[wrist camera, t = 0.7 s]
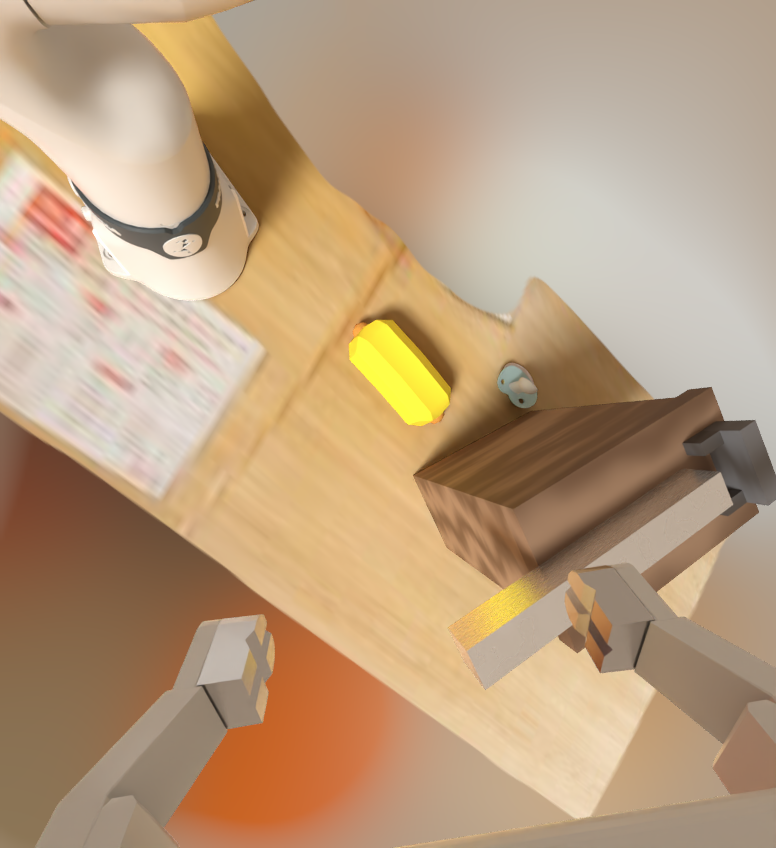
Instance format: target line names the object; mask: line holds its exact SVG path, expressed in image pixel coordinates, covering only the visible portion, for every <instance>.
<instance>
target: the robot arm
mask: <svg viewBox="0 0 776 848" xmlns="http://www.w3.org/2000/svg"><path fill="white" fill-rule="evenodd" d="M251 1H254V0H0V119H1V120H2V121H4V122H6V123H7V124H9V125H10V126H12V127H14V128H15V129H17V130H18V131H19V132H21V133H22V134H24V135H25V136H27V137H28V138H29V139H30V140H31V141H33V142H34V143H35V144H36V145H37V146H38V147H39V148H40V149H41V150H42V151H43V152H44V153H45V154H46V155H47V156H48V157H49V158H50V159H51V160H52V161H53V162H54V163H55V164H56V165H57V166H58V167H59V168H60V169H61V170H62V171H63V172H64V173H65V174H66V175H67V177H68V180H69V183H70V185H71V187H72V189H73V191H74V192H75V194H76V195H77V196H78V197H80V198H81V199H82V201H83V202H84V203H85V206H83V207H81V210H82V213H83V215H84V217H85V218H86V220H87V221H91V222H92V225H93V233H94V235H95V237H96V239H97V243H98V247H99V250H100V254H101V257H102V261H103V264H104V266H105V268H106V269H107V270H108V272H109V273H111V274H112V275H114V276H117V277H120V278H124V279H129V280H134V281H137V282H140V283H142V284H143V285H145V286H147V287H148V288H150V289H152V290H153V291H155V292H157V293H159V294H161V295H164V296H166V297H170V298H173V299H178V300H188V301H193V300H202V299H207V298H210V297H213V296H216V295H218V294H220V293H222V292H223V291H225V290H226V289H228V288H229V287H230V286H231V285H232V284H233V283H234V282H235V281H236V280H237V278H238V277H239V275H240V274H241V272H242V270H243V267H244V265H245V261H246V255H247V249H248V245H249V243H250V242H251V240H252V239H253V238H254V236H255V235H256V233H257V231H258V228H259V224H258V221H257V218H256V217H255V215H254V214H253V212H252V211H251V210H250V208H249V207H248V205H247V204H246V203H245V201H244V200H243V199H242V197H241V196H240V194H239V193H238V192H237V190H236V189H235V187H234V186H233V185H232V183H231V182H230V181H229V179H228V178H227V176H226V175H225V174H224V172H223V171H222V169H221V168H220V167H219V165H218V164H217V162H216V161H215V160H214V158H213V157H212V156H211V154H210V153H209V151H208V149H207V148H206V146H205V144H204V143H203V141H202V140H201V136H200V133H199V130H198V126H197V123H196V120H195V117H194V113H193V110H192V107H191V103H190V100H189V97H188V94H187V91H186V89H185V87H184V85H183V83H182V81H181V79H180V78H179V76H178V74H177V73H176V71H175V70H174V69H173V67H172V66H171V64H170V63H169V62H168V61H167V59H166V58H165V57H164V56H163V55H162V53H161V52H160V51H159V50H158V49H157V48H156V47H155V46H154V44H153V43H152V42H151V41H150V40H149V39H148V38H147V37H146V36H145V35H144V34H142V33H141V32H140V31H139V30H138V29H137V28H136V27H134V26H133V25H132V24H137V23H181V22H189V21H193V20H196V19H199V18H203V17H206V16H210V15H213V14H216V13H219V12H223V11H226V10H229V9H232V8H234V7H237V6H240V5H243V4H245V3H248V2H251ZM243 214H245V215H246V216H245V217H244V216H243ZM111 256H112V257H111ZM567 581H568V582H569V584H570V585H571V587H570V588H569V589H568V590H567V591H566V592H565V606H566V611H567V614H568V616H569V619H570V621H571V623H572V625H573V627H574V628H575V630H576V631H578V632H579V633H581V634H582V635H583V636H585V637H586V641H585V648H586V650H587V651H588V653H589V655H590V657H591V658H592V660H593V662H594V664H595V665H596V667H597V669H598V670H599V672H600V673H606V672H615V671H624V670H632V669H635V672H636V673H637V674H638V675H639V676H641V677H642V678H643V679H644V680H646V681H647V682H648V683H649V684H650V685H652V686H653V687H654V688H655V689H656V690H658V691H659V692H660V693H661V694H663V695H664V696H665V697H666V698H668V699H669V700H670V701H671V702H672V703H674V704H675V705H676V706H677V707H678V708H680V709H681V710H682V711H683V712H684V713H686V714H687V715H688V716H690V718H692V719H693V720H694V721H695V722H697V723H698V724H699V725H700V726H702V727H703V728H704V729H705V730H706V731H708V732H709V733H710V734H711V735H712V736H714V737H715V738H716V739H717V740H718V741H720V742H721V743H722V744H723V746H722V747H721V749H720V751H719V752H718V754H717V756H716V757H715V759H714V762H713V770H714V771H715V772H716V774H717V776H718V777H719V779H720V780H721V782H722V783H723V785H724V786H725V787H726V789H727V791H728V792H729V794H730V795H727V796H720V797H714V798H707V799H700V800H695V801H688V802H681V803H675V804H669V805H663V806H656V807H649V808H643V809H637V810H630V811H625V812H618V813H611V814H605V815H599V816H592V817H586V818H579V819H573V820H567V821H560V822H554V823H548V824H541V825H535V826H529V827H522V828H515V829H509V830H503V831H496V832H490V833H484V834H477V835H471V836H465V837H458V838H452V839H445V840H439V841H433V842H427V843H420V844H414V845H407V846H401V847H395V848H776V668H775V667H773V666H772V665H770V664H768V663H766V662H765V661H762V660H761V659H759V658H757V657H756V656H754V655H752V654H750V653H748V652H747V651H745V650H743V649H741V648H739V647H737V646H736V645H734V644H732V643H730V642H728V641H727V640H725V639H723V638H721V637H720V636H718V635H716V634H714V633H713V632H711V631H709V630H707V629H705V628H704V627H701V626H700V625H698V624H696V623H695V622H693V621H691V620H689V619H687V618H686V617H677V615H676V614H675V613H674V612H673V611H672V610H671V609H670V607H669V606H668V605H667V604H666V603H665V602H664V600H663V599H662V598H661V597H660V596H659V595H658V594H657V592H656V591H655V590H654V589H653V588H652V587H651V586H650V584H649V583H648V582H647V581H646V580H645V579H644V577H643V576H642V575H641V574H640V573H639V572H638V571H637V569H636V568H635V567H634V566H633V565H631V564H630V563H620V564H614V565H608V566H607V565H603V566H597V567H590V568H584V569H578V570H571V572H570V573H569V574H568V580H567ZM266 625H267V621H266V619H265V617H264V615H263V614H262V615H254V616H244V617H235V618H226V619H219V620H211V621H203V622H202V623H201V625H200V626H199V627H198V629H197V631H196V634H195V636H194V638H193V641H192V643H191V646H190V648H189V651H188V653H187V655H186V658H185V660H184V663H183V665H182V668H181V670H180V672H179V675H178V677H177V680H176V682H175V685H174V687H173V689H172V690H170V691H166V692H165V693H164V694H163V695H162V696H161V697H160V698H159V699H158V700H157V701H156V702H155V703H154V704H153V705H152V706H151V707H150V708H149V710H148V711H147V712H146V713H145V714H144V715H143V716H142V717H141V718H140V719H139V720H138V721H137V722H136V723H135V724H134V725H133V726H132V727H131V728H130V729H129V730H128V731H127V732H126V734H124V735H123V737H122V738H121V739H120V740H119V741H118V742H117V743H116V744H115V745H114V746H113V747H112V748H111V749H110V750H109V751H108V752H107V753H106V754H105V755H104V756H103V757H102V758H101V760H100V761H99V762H98V763H97V764H96V765H95V766H94V767H93V768H92V769H91V770H90V771H89V772H88V773H87V774H86V775H85V776H84V777H83V778H82V779H81V780H80V781H79V782H78V783H77V785H76V786H75V787H74V788H73V789H72V790H71V791H70V792H69V793H68V794H67V795H66V796H65V797H64V798H63V800H61V801H60V802H59V803H58V805H57V807H56V809H55V811H54V812H53V814H52V816H51V818H50V820H49V822H48V824H47V826H46V827H45V829H44V831H43V833H42V835H41V837H40V839H39V841H38V843H37V845H36V847H35V848H180V847H179V844H178V843H177V842H176V841H175V840H174V838H173V837H172V836H171V835H170V834H169V833H168V832H167V831H166V830H165V829H164V827H165V825H166V824H167V822H168V821H169V819H170V817H171V816H172V815H173V813H174V812H175V810H176V809H177V807H178V806H179V804H180V803H181V801H182V800H183V798H184V797H185V795H186V793H187V792H188V791H189V789H190V788H191V786H192V784H193V783H194V781H195V780H196V778H197V777H198V775H199V774H200V772H201V771H202V769H203V768H204V766H205V765H206V763H207V762H208V760H209V759H210V757H211V756H212V754H213V753H214V751H215V750H216V748H217V746H218V745H219V744H220V742H221V741H222V739H223V737H224V736H225V734H226V733H227V729H230V728H236V727H242V726H247V725H253V724H259V723H263V718H264V713H265V707H266V703H267V698H268V690H267V688H266V685H265V682H266V681H267V679H268V678H269V677H270V676H271V674H272V672H273V666H274V657H275V647H274V640H273V637H272V634H271V633H269V632H268V631H266V630H265V629H266Z"/></svg>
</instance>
